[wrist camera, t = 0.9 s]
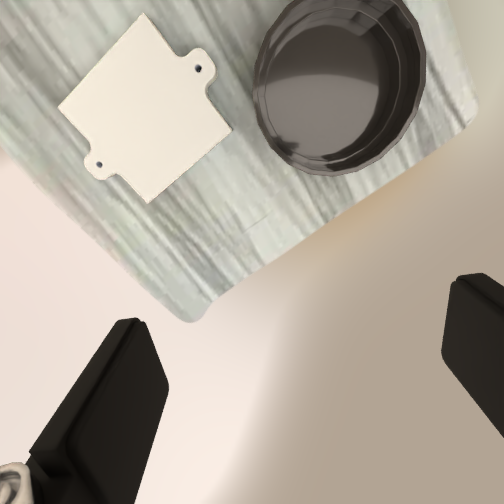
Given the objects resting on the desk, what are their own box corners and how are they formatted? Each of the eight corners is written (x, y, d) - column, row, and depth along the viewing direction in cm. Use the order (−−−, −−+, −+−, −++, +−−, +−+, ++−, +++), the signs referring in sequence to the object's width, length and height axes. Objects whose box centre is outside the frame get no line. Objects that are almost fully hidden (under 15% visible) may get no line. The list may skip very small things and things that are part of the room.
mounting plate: (138, 211, 37) (133, 216, 35) (54, 123, 33) (42, 123, 31) (250, 115, 32) (250, 115, 31) (168, -2, 28) (162, -10, 27)
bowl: (226, 64, 30) (220, 53, 25) (366, -35, 27) (391, -70, 22) (293, 191, 36) (299, 203, 31) (417, 122, 32) (447, 122, 27)
